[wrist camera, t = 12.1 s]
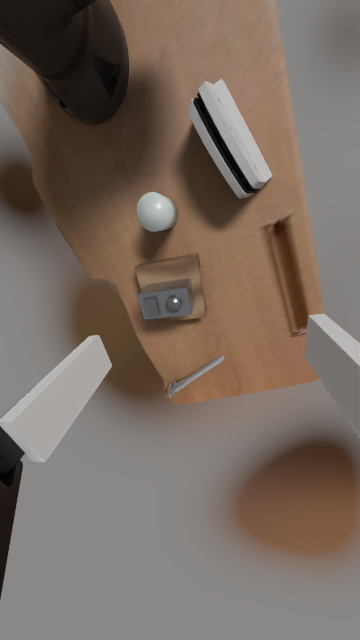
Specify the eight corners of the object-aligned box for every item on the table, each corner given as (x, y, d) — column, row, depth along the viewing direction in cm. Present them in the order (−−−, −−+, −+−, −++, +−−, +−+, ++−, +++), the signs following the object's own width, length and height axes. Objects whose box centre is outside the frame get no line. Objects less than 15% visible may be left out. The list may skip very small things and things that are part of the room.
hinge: (273, 177, 35) (269, 183, 28) (249, 197, 38) (240, 206, 31) (222, 78, 30) (201, 56, 24) (200, 109, 34) (176, 98, 27)
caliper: (171, 384, 63) (167, 400, 57) (169, 382, 63) (165, 397, 57) (224, 356, 55) (226, 372, 49) (222, 354, 55) (223, 369, 49)
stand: (140, 263, 46) (134, 267, 42) (198, 253, 43) (197, 256, 39) (154, 316, 52) (150, 323, 48) (206, 310, 49) (206, 317, 45)
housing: (153, 306, 46) (142, 321, 39) (147, 284, 44) (134, 296, 37) (194, 301, 44) (191, 316, 37) (190, 277, 42) (186, 289, 35)
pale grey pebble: (146, 201, 40) (132, 196, 33) (174, 194, 39) (166, 188, 31) (153, 232, 42) (142, 234, 35) (180, 226, 41) (173, 228, 34)
